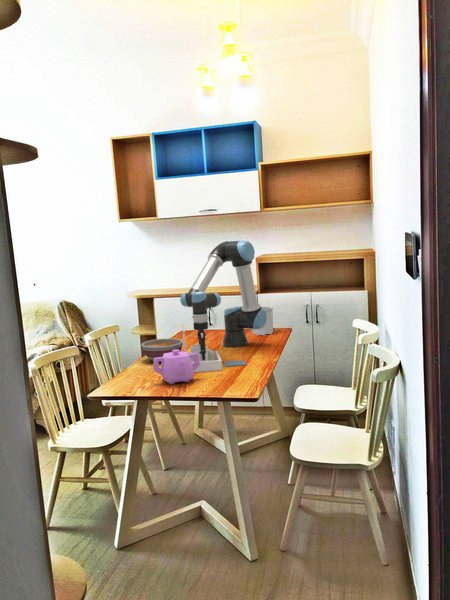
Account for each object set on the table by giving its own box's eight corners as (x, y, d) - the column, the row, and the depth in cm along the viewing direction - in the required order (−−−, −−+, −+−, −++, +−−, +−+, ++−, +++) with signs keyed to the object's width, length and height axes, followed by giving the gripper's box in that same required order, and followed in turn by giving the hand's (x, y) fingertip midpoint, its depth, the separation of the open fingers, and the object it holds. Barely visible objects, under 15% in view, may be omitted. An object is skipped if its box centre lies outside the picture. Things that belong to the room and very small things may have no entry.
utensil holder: (267, 336, 367) (265, 309, 365) (247, 335, 375) (246, 309, 373) (277, 332, 379) (276, 306, 377) (258, 331, 387) (257, 305, 385)
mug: (211, 368, 291) (210, 347, 290) (189, 367, 295) (188, 347, 293) (216, 364, 299) (215, 344, 298) (195, 363, 303) (194, 344, 301)
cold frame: (217, 359, 310) (215, 321, 307) (222, 370, 286) (219, 329, 283) (184, 362, 308) (181, 324, 305) (185, 373, 284) (182, 331, 281)
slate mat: (243, 360, 303) (243, 359, 303) (246, 365, 293) (246, 364, 292) (223, 362, 302) (223, 361, 302) (225, 367, 291) (225, 365, 291)
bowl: (135, 364, 310) (133, 346, 309) (154, 354, 331) (153, 338, 330) (173, 365, 302) (171, 347, 301) (190, 355, 323) (189, 338, 322)
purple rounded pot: (184, 387, 257) (182, 355, 255) (150, 385, 265) (148, 353, 263) (204, 377, 274) (202, 346, 273) (171, 374, 282) (169, 345, 281)
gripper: (192, 318, 305) (194, 358, 308) (194, 325, 282) (197, 369, 285) (206, 317, 306) (208, 357, 308) (209, 324, 283) (212, 367, 286)
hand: (203, 363), depth 297 cm, fingers open, 11 cm apart
